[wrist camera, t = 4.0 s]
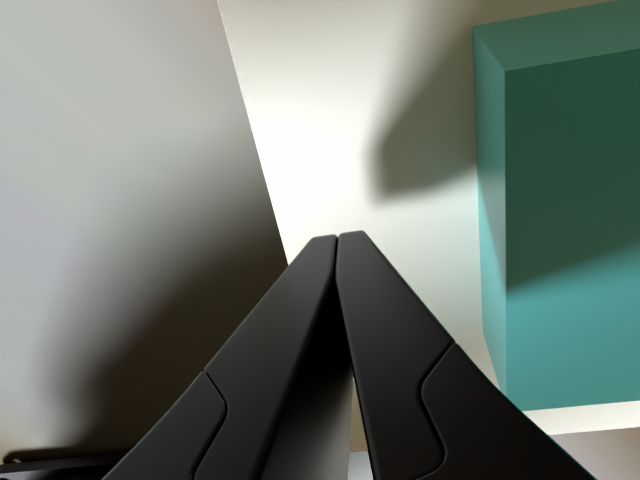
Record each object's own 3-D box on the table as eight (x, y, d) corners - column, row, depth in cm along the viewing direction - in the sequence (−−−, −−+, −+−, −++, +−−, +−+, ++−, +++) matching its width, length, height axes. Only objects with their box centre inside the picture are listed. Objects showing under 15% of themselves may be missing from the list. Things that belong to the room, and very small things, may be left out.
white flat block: (339, 336, 17) (339, 452, 14) (232, -133, 11) (182, -125, 7) (813, 282, 15) (942, 400, 12) (1040, -317, 9) (1457, -416, 6)
